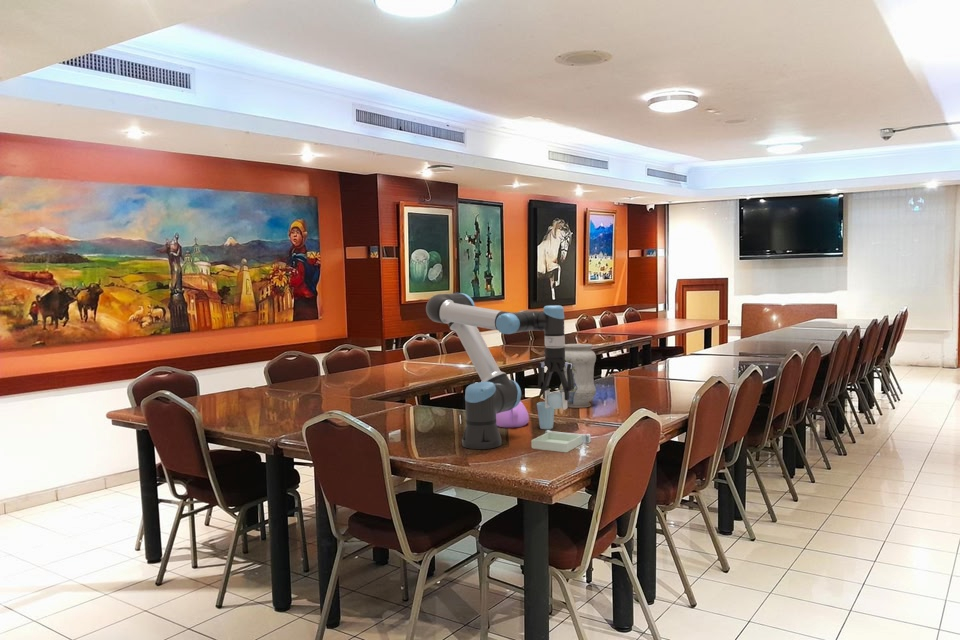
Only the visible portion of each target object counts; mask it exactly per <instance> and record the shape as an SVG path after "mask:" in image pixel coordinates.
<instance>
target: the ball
mask: <svg viewBox="0 0 960 640" xmlns="http://www.w3.org/2000/svg"><path fill="white" fill-rule="evenodd" d="M547 401H548V404H549V406H550V407H551V408H553V409H555V410H558V409H561V408H563V405H562V393H560V392H559V391H552V392H550V395H549V396H548V399H547Z"/></svg>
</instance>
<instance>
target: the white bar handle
mask: <svg viewBox="0 0 960 640" xmlns="http://www.w3.org/2000/svg"><path fill="white" fill-rule="evenodd" d="M547 432H551V433H561V434H571V435H580V436H582V444H589V443H591V434H590V433H587V434H584V433H583V434H582V433H581V434H580V433H573V432H561V431H554V430H551V429H546V430H545V432H544V434H545V433H547Z"/></svg>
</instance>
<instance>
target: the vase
mask: <svg viewBox="0 0 960 640" xmlns="http://www.w3.org/2000/svg"><path fill="white" fill-rule="evenodd" d="M593 346H594V345H593V344H592V343H567V344H566V343H565V346H563V347H564V348H565V360H566V362H567V363H573V368H572V372H573V382H574V389H573V390H571V391H569V400H567V408H570V409H571V408H573V409H579V408H581V409H583V408H585V409H586V408H588V407H591V406H592V403H590V402H591V401H592V400H593V399H594V398H595V396H596V392H597V388H596V386H595V383H594V377H595V376H594V374H595V372H594V371H595V363H596V360H597V355H596V353H595V351H594V350H592V348H593ZM563 369H564V372H565V373H564V374H565V377H566V380H567V369H566V366H564V368H563ZM567 383H568V380H567ZM558 389H559V391H558V392H560V393H562V392H563V391H564V389H563V386H562V383H560V385H559V388H558Z"/></svg>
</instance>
